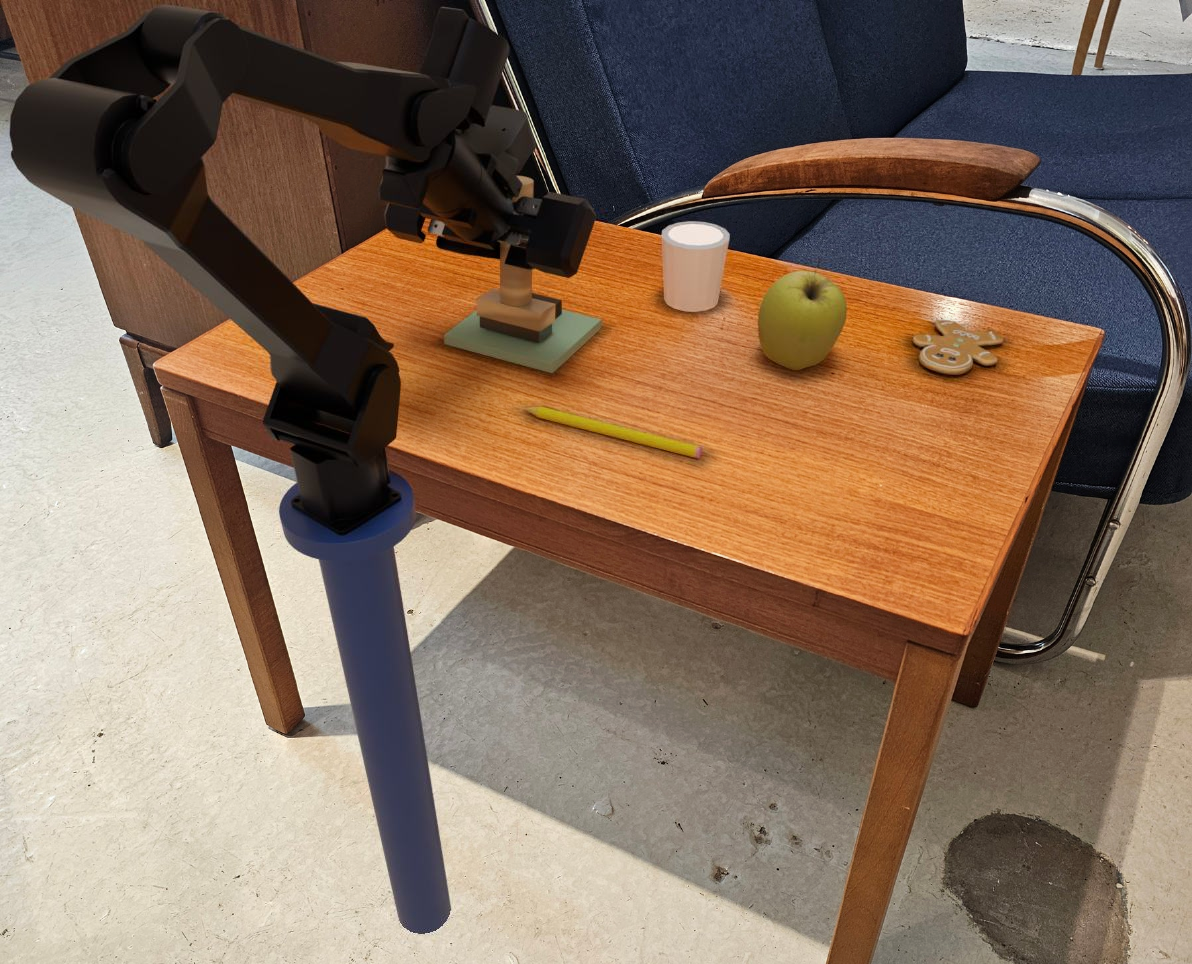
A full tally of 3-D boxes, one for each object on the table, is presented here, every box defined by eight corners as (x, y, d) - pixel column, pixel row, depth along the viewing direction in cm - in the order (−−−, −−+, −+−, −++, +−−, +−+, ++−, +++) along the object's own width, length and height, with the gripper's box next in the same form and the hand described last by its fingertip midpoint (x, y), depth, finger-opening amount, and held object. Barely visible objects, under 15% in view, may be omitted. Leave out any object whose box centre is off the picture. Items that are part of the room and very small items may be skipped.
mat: (552, 373, 98) (552, 364, 97) (444, 344, 102) (443, 334, 101) (601, 328, 105) (601, 319, 104) (498, 302, 109) (497, 293, 108)
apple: (745, 324, 103) (788, 232, 96) (820, 355, 103) (868, 265, 97) (736, 364, 97) (782, 270, 90) (816, 396, 98) (867, 305, 91)
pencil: (701, 454, 88) (702, 444, 88) (697, 460, 88) (698, 450, 87) (526, 410, 93) (526, 400, 93) (521, 415, 93) (521, 405, 92)
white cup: (731, 290, 111) (737, 225, 106) (715, 319, 106) (720, 252, 101) (668, 280, 113) (672, 216, 108) (649, 308, 108) (652, 242, 103)
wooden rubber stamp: (539, 344, 99) (542, 191, 91) (476, 327, 102) (473, 177, 93) (555, 333, 101) (559, 183, 93) (492, 317, 104) (491, 169, 95)
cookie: (1015, 334, 102) (982, 377, 96) (1013, 343, 103) (979, 386, 96) (933, 311, 105) (895, 351, 99) (931, 320, 106) (893, 360, 100)
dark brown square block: (542, 330, 102) (541, 316, 101) (506, 321, 103) (506, 307, 102) (562, 313, 105) (562, 299, 104) (527, 305, 106) (527, 291, 105)
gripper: (585, 100, 81) (642, 195, 95) (386, 66, 87) (468, 160, 102) (538, 237, 81) (602, 311, 95) (342, 194, 87) (430, 269, 102)
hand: (524, 258), depth 99 cm, fingers closed on wooden rubber stamp, 3 cm apart
